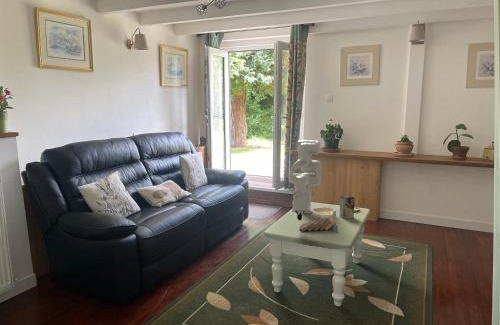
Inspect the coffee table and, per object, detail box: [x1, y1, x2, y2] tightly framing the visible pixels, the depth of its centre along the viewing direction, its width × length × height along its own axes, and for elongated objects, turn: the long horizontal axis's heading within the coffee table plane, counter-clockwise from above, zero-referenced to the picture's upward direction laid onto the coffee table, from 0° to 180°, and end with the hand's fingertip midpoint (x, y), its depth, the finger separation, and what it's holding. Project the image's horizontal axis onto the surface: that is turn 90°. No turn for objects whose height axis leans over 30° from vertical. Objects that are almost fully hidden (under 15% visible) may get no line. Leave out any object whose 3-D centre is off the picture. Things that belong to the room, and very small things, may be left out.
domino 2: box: [306, 219, 320, 232], centre depth 247 cm, size 6×2×9 cm
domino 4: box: [318, 217, 331, 231], centre depth 248 cm, size 6×2×9 cm
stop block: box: [329, 222, 339, 232], centre depth 249 cm, size 8×3×4 cm, turn 8°
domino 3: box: [312, 219, 326, 232], centre depth 247 cm, size 6×2×9 cm
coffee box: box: [339, 195, 356, 219], centre depth 274 cm, size 9×6×16 cm
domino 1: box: [298, 220, 313, 233], centre depth 246 cm, size 6×2×9 cm
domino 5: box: [323, 217, 337, 231], centre depth 248 cm, size 6×2×9 cm
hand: (299, 219), depth 245 cm, fingers closed
